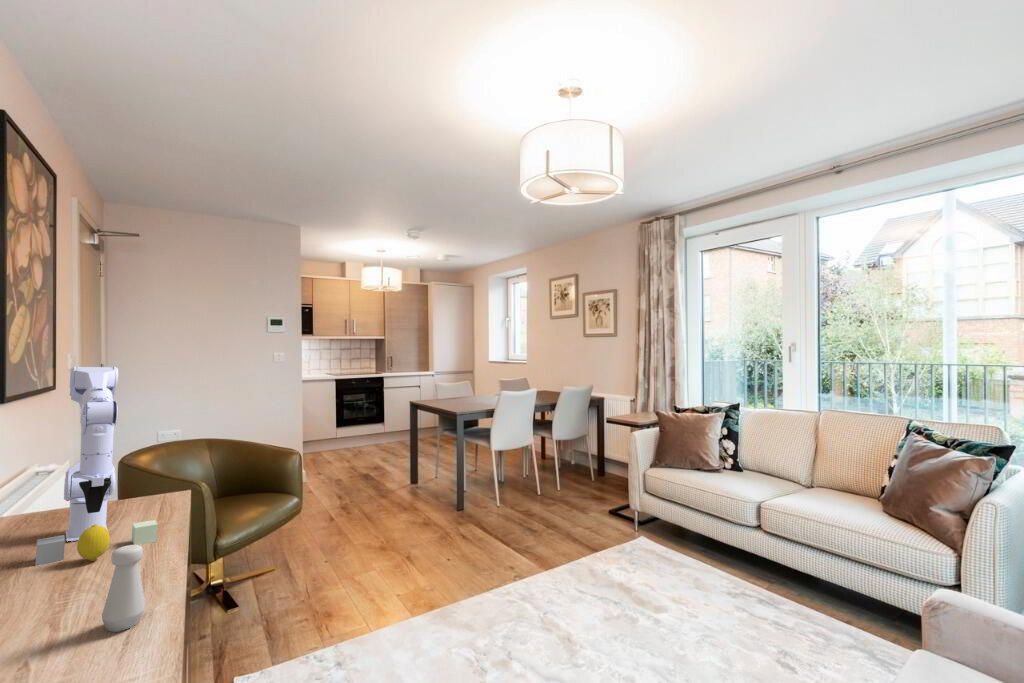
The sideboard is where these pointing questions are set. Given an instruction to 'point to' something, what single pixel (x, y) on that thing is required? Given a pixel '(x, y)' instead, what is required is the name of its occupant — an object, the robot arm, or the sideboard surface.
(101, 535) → the lemon
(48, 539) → the slate block
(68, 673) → the sideboard surface
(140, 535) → the sage block
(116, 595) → the salt shaker
